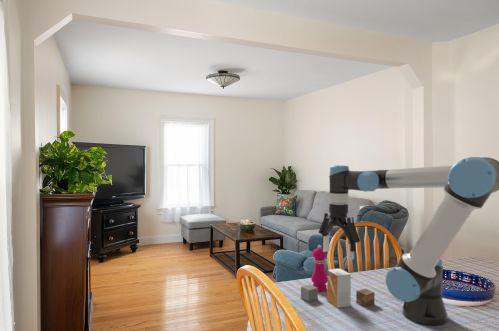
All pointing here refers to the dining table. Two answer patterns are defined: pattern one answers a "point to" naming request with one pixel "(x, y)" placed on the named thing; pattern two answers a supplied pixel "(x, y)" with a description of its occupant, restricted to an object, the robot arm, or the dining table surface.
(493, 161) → the robot arm
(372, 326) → the dining table surface
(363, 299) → the walnut block
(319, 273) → the pepper mill
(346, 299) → the small box
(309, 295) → the charcoal block
